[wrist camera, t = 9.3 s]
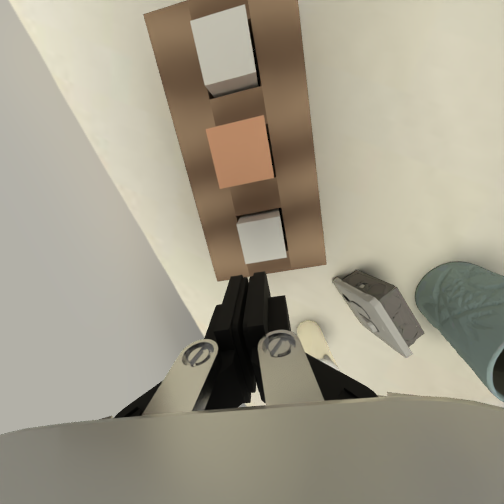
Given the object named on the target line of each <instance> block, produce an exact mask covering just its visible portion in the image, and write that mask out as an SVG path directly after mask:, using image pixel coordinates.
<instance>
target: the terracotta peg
mask: <svg viewBox="0 0 504 504" xmlns="http://www.w3.org/2000/svg"><path fill="white" fill-rule="evenodd" d="M206 134H207V138H208V142H209V146H210V150H211V154H212V159H213V163H214V167H215V171H216V175H217V179H218V184H219V188H220V189H223V188H227V187H232V186H237V185H242V184H247V183H252V182H256V181H261V180H266V179H271V178H274V174H273V167H272V161H271V155H270V149H269V143H268V137H267V131H266V125H265V119H264V115H262V116H258V117H253V118H249V119H245V120H241V121H237V122H233V123H229V124H225V125H220V126H216V127H212V128H208V129H206Z"/></svg>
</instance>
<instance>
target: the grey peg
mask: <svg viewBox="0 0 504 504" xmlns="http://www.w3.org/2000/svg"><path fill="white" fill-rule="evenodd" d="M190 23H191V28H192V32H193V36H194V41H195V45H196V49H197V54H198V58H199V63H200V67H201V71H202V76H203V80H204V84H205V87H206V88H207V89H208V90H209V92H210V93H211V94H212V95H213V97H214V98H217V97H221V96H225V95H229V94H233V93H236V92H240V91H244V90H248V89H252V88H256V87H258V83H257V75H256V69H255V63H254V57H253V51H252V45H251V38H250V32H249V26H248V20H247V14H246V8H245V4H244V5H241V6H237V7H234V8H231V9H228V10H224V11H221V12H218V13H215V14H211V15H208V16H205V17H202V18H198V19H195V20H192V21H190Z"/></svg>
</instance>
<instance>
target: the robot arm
mask: <svg viewBox="0 0 504 504" xmlns="http://www.w3.org/2000/svg"><path fill="white" fill-rule="evenodd" d="M256 383H257V387H258V390H259V392H260V396H261V400H262V401H263V402H264V403H266V405H264V406H251V407H239V406H240V405H241V404H242V403H250V401H251V393H253V392H255V391H256ZM238 407H239V408H238ZM0 504H504V408H502V407H498V406H493V405H489V404H485V403H480V402H476V401H470V400H463V399H455V398H448V397H432V396H417V395H409V394H400V393H392V392H387V396H381V395H376V394H375V393H374V392H373V391H372V390H371V389H369V388H368V387H366V386H365V385H363V384H361V383H359V382H358V381H356V380H354V379H352V378H350V377H349V376H347V375H345V374H343V373H341V372H340V371H338V370H336V369H334V368H332V367H331V366H329V365H327V364H325V363H323V362H322V361H320V360H318V359H316V358H314V357H313V356H311V355H309V354H307V353H305V351H304V349H303V346H302V344H301V341H300V339H299V337H298V336H297V335H296V334H295V333H293V332H291V328H290V321H289V315H288V309H287V304H286V298H285V295H284V296H277V297H271V296H270V291H269V286H268V281H267V276H266V272H265V271H263V272H256V273H254V275H253V276H250V279H249V282H248V278H247V277H244V278H243V275H237V276H231V277H230V280H229V283H228V287H227V290H226V293H225V296H224V299H223V302H222V304H221V305H216V307H215V310H214V313H213V316H212V318H211V321H210V324H209V327H208V330H207V333H206V335H205V338H204V339H203V340H198V341H195V342H193V343H191V344H189V345H188V346H187V347H185V348H184V349H183V350H182V352H181V353H180V354H179V356H178V358H177V359H176V361H175V362H174V364H173V366H172V367H171V369H170V370H169V372H168V374H167V375H166V377H165V379H164V380H163V381H162V382H160V383H159V384H157V385H156V386H155V387H153V388H152V389H151V390H149V391H148V392H146V393H145V394H143V395H142V396H141V397H139V398H138V399H136V400H135V401H134V402H132V403H131V404H129V405H128V406H127V407H125V408H124V409H123V410H122V411H120V412H119V413H118V414H117V415H116V416H115V417H114V418H113V416H109V417H106V418H102V419H99V420H92V421H81V422H71V423H63V424H55V425H47V426H40V427H33V428H26V429H22V430H17V431H12V432H8V433H5V434H1V435H0Z"/></svg>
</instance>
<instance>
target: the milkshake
mask: <svg viewBox="0 0 504 504" xmlns="http://www.w3.org/2000/svg"><path fill="white" fill-rule="evenodd" d="M297 336H298V337H299V339H300V341H301V344H302V346H303V349H304V351H305V353H307V354H309V355H311V356H313V357H314V358H316V359H318V360H320V361H322V362H323V363H325V364H327V365H329V366H331V367H332V368H334V369H336V370H338V371H340V370H339V368H338V366H337V364H336V362H335V360H334V358H333V356H332V354H331V351H330V349H329V347H328V344H327V342H326V340H325V338H324V335H323V333H322V331H321V329H320V326H319V325H318V324H317V323H316V322H314V321H309V320H307V321H304V322H301V323H300V324H299V326H298V327H297Z"/></svg>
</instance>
